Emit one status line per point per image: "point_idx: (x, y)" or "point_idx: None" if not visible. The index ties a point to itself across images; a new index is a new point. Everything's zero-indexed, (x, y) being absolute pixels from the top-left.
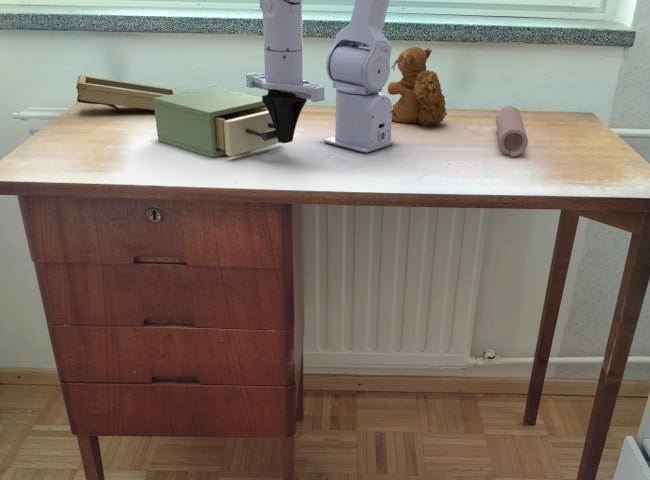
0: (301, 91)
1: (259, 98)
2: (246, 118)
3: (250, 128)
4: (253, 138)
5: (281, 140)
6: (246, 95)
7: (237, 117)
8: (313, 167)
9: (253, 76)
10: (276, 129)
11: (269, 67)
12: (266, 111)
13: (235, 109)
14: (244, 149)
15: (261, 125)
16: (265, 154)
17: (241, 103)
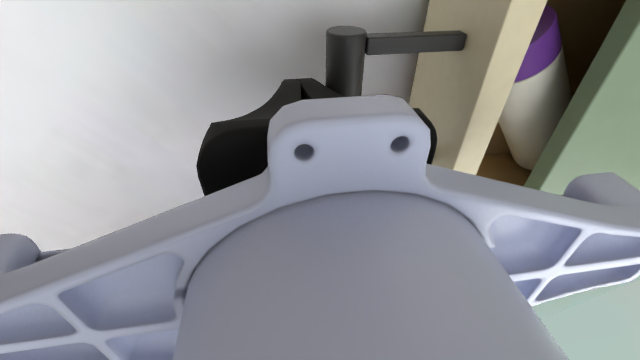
0: (53, 258)
1: None
2: (490, 58)
3: (458, 64)
4: (435, 64)
5: (292, 79)
6: None
7: (561, 108)
8: (194, 98)
9: (615, 226)
10: (316, 86)
11: (423, 355)
12: None
13: (586, 91)
14: (433, 3)
15: (442, 122)
16: (390, 80)
17: (586, 152)
